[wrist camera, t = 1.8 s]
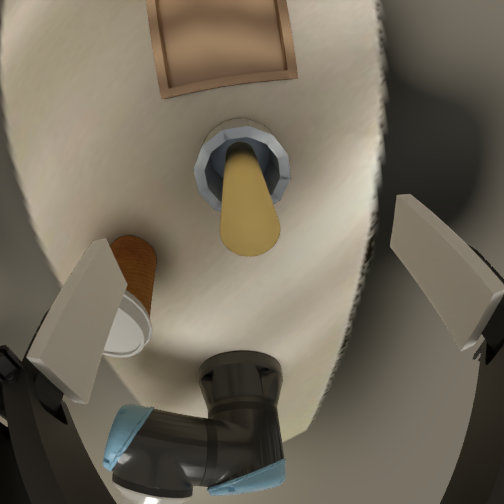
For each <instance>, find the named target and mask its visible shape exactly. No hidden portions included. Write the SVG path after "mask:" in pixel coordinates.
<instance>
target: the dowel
mask: <svg viewBox="0 0 504 504" xmlns="http://www.w3.org/2000/svg"><path fill="white" fill-rule="evenodd" d="M279 235H280V223H279V220H278V217H277V214H276V211H275V208H274V205H273V203H272V200H271V197H270V194H269V191H268V188H267V185H266V183H265V180H264V177H263V174H262V171H261V168H260V166H259V163H258V160H257V157H256V155H255V152H254V149H253V148H252V146H251V145H249V144H248V143H246V142H235V143H233V144H231V145H230V146H229V147H228V149H227V151H226V156H225V168H224V180H223V193H222V207H221V222H220V236H221V239H222V241H223V243H224V245H225V246H226V247H227V248H228V249H229V250H230V251H232V252H233V253H235V254H238V255H241V256H257V255H260V254H263V253H265V252H267V251H268V250H270V249H271V248H272V247H273V246H274V245H275V244H276V242H277V240H278V238H279Z"/></svg>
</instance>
